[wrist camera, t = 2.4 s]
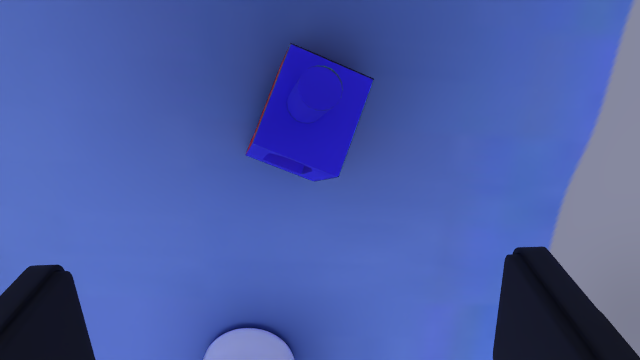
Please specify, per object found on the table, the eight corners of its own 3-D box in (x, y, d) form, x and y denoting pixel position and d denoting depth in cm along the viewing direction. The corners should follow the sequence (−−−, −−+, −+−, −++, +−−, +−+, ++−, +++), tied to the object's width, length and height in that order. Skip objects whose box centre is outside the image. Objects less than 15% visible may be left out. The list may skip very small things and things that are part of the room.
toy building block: (342, 103, 25) (398, 59, 17) (313, 182, 24) (357, 174, 17) (276, 75, 24) (302, 16, 16) (245, 155, 24) (257, 134, 16)
